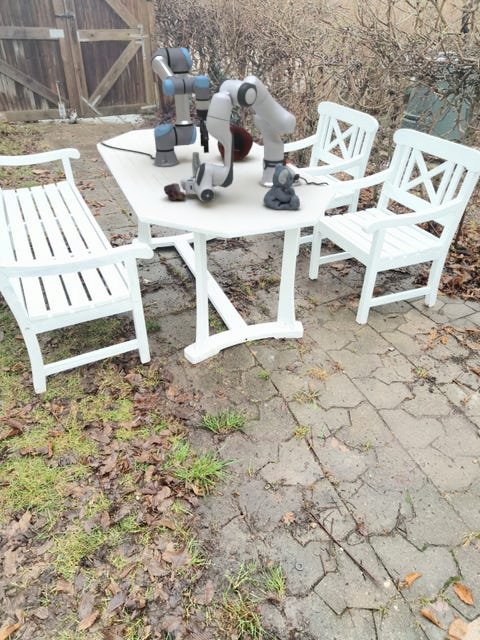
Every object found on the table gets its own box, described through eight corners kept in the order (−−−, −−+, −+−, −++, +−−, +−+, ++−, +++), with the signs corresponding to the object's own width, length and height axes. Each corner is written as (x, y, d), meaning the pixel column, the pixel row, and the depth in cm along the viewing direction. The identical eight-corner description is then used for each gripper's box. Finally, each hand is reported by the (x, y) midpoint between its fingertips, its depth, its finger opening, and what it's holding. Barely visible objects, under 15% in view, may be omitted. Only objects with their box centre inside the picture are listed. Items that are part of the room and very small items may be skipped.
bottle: (203, 190, 249) (201, 153, 238) (196, 192, 247) (194, 154, 236) (199, 188, 253) (197, 151, 241) (192, 190, 250) (189, 152, 239)
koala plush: (301, 210, 223) (303, 170, 212) (265, 211, 222) (266, 171, 211) (294, 198, 237) (297, 160, 226) (261, 199, 236) (261, 161, 225)
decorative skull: (214, 132, 306) (214, 129, 283) (248, 124, 306) (250, 120, 282) (221, 164, 313) (221, 164, 290) (254, 156, 312) (257, 156, 289)
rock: (179, 196, 245) (162, 199, 241) (177, 180, 241) (160, 182, 237) (187, 199, 235) (169, 202, 231) (185, 182, 232) (167, 185, 228)
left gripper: (193, 104, 251) (195, 143, 263) (198, 113, 231) (200, 155, 244) (206, 103, 252) (208, 143, 265) (213, 113, 232) (214, 155, 245)
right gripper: (220, 178, 236) (215, 170, 247) (182, 181, 232) (178, 173, 243) (221, 190, 240) (215, 182, 251) (183, 193, 236) (179, 185, 247)
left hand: (204, 149), depth 254 cm, fingers open, 13 cm apart
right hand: (197, 178), depth 247 cm, fingers open, 5 cm apart
